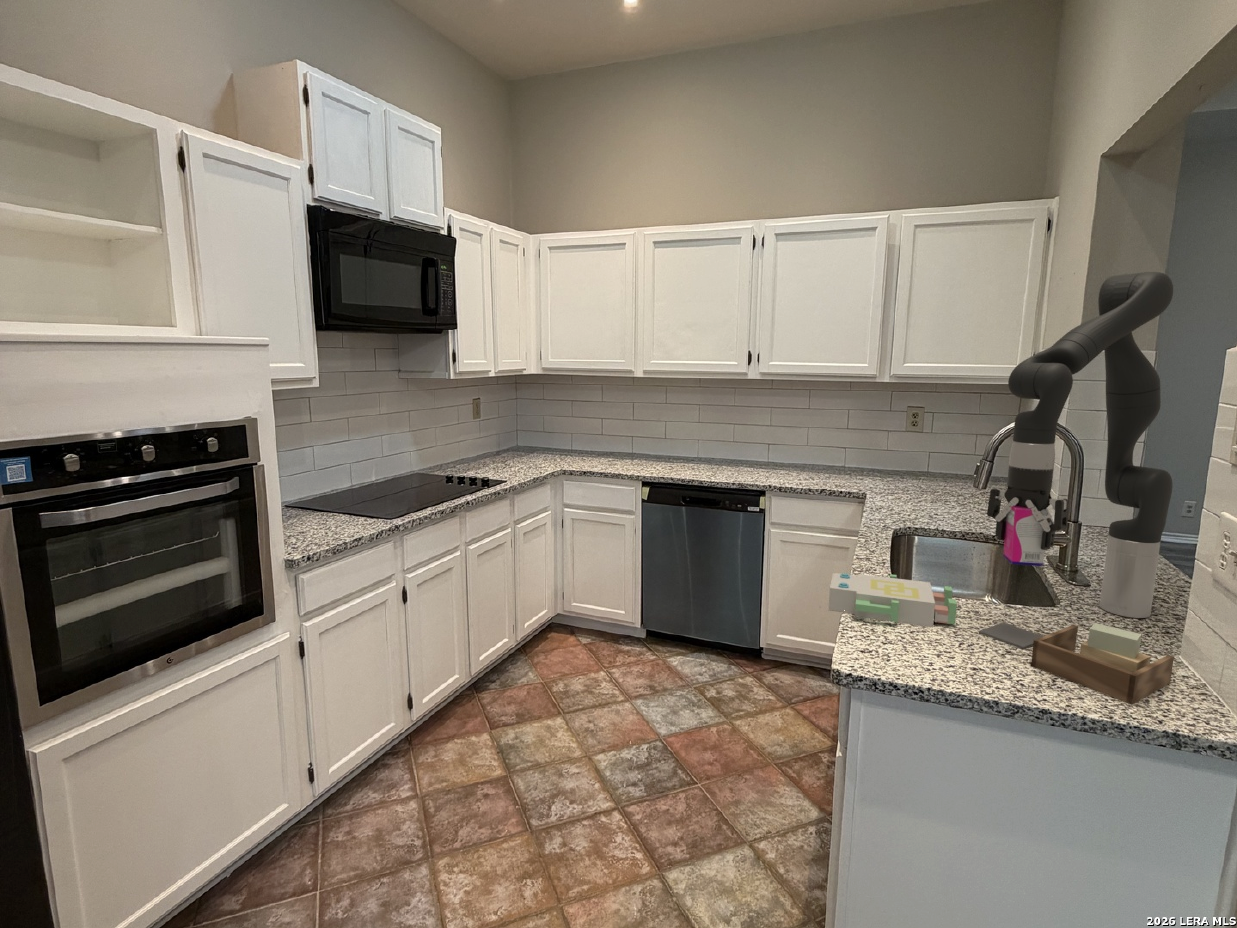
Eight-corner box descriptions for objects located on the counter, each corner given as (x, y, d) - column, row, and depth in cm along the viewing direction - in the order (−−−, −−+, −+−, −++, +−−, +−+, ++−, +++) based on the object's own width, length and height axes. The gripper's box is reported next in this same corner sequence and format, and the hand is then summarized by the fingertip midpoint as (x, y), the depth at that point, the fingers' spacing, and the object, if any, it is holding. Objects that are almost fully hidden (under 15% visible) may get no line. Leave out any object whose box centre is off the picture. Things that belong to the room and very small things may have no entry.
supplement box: (1033, 557, 134) (1039, 503, 132) (1043, 566, 128) (1049, 510, 126) (1002, 555, 135) (1007, 501, 133) (1010, 564, 130) (1015, 508, 128)
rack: (1070, 648, 128) (1073, 624, 128) (1170, 682, 115) (1174, 656, 114) (1030, 665, 121) (1033, 640, 120) (1132, 704, 107) (1135, 676, 107)
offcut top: (1092, 640, 124) (1094, 622, 123) (1139, 652, 118) (1141, 634, 118) (1087, 646, 121) (1089, 628, 120) (1134, 658, 116) (1137, 640, 115)
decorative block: (828, 590, 143) (834, 565, 161) (827, 618, 144) (832, 589, 162) (959, 607, 133) (949, 578, 152) (956, 637, 134) (947, 604, 153)
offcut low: (1092, 657, 125) (1094, 638, 125) (1147, 677, 117) (1150, 656, 117) (1078, 663, 123) (1081, 643, 122) (1134, 683, 115) (1137, 662, 114)
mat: (1003, 624, 140) (1003, 622, 140) (1047, 639, 132) (1047, 637, 132) (978, 633, 136) (979, 630, 135) (1023, 649, 128) (1023, 647, 128)
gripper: (1080, 468, 124) (1071, 550, 127) (1005, 458, 136) (997, 533, 139) (1060, 471, 120) (1050, 556, 123) (984, 461, 133) (977, 538, 135)
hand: (1022, 544), depth 131 cm, fingers closed on supplement box, 8 cm apart
